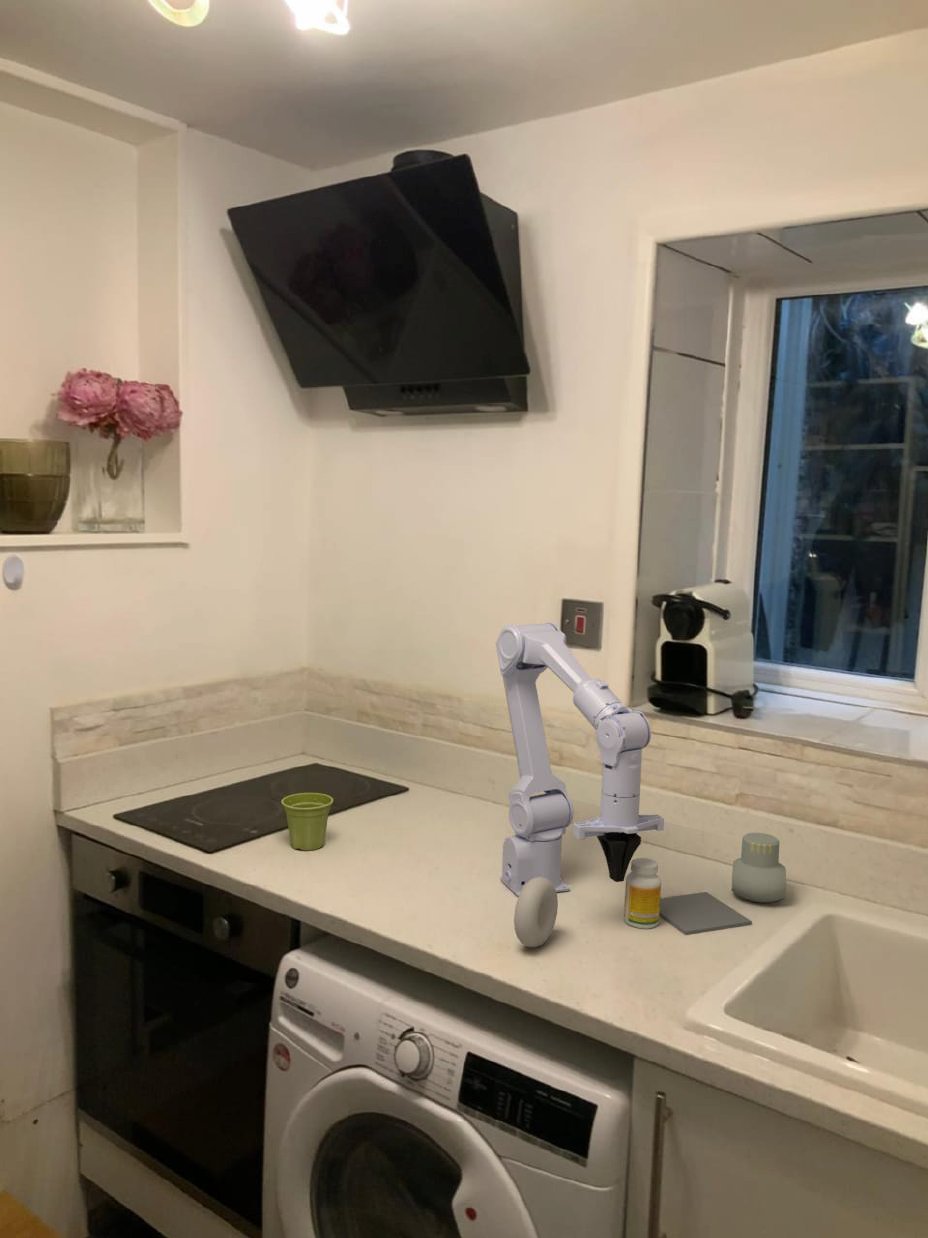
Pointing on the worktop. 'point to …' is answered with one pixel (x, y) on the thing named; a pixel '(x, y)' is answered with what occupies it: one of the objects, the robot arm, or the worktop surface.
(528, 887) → the donut
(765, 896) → the air freshener
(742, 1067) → the worktop surface
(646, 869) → the supplement bottle
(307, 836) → the plant pot
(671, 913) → the mat
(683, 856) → the worktop surface
